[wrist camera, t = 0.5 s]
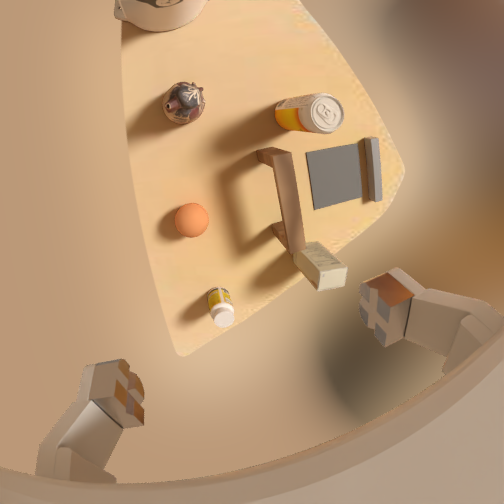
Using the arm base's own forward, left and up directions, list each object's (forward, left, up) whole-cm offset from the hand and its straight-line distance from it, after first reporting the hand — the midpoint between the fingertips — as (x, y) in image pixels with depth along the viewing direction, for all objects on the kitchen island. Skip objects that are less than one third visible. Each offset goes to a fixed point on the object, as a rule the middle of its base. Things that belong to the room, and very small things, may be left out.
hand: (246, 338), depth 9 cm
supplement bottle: (+29, -3, -44) cm, 52 cm away
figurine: (-10, +1, -44) cm, 45 cm away
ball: (+10, -3, -41) cm, 42 cm away
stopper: (+10, +36, -44) cm, 57 cm away
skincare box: (+25, +18, -44) cm, 53 cm away
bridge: (+10, +13, -44) cm, 46 cm away
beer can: (-4, +19, -44) cm, 48 cm away
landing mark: (+10, +27, -44) cm, 52 cm away
